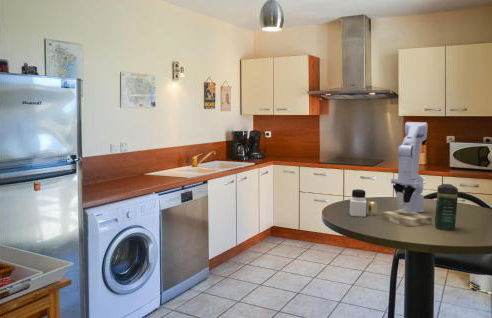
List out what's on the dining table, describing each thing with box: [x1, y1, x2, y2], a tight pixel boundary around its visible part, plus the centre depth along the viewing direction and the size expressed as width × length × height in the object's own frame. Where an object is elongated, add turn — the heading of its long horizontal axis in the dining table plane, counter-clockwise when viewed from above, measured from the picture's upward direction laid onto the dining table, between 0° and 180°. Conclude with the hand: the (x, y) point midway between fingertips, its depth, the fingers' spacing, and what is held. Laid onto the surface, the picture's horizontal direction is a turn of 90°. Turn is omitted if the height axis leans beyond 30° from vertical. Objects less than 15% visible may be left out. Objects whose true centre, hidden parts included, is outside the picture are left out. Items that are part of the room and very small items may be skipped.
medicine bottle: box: [349, 188, 368, 218], centre depth 207 cm, size 7×7×12 cm
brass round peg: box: [367, 200, 378, 216], centre depth 209 cm, size 4×4×6 cm
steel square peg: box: [395, 191, 409, 207], centre depth 198 cm, size 4×4×6 cm
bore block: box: [380, 209, 433, 228], centre depth 197 cm, size 14×16×3 cm
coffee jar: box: [434, 183, 459, 231], centre depth 186 cm, size 10×8×19 cm
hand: (403, 201), depth 199 cm, fingers closed on steel square peg, 4 cm apart
